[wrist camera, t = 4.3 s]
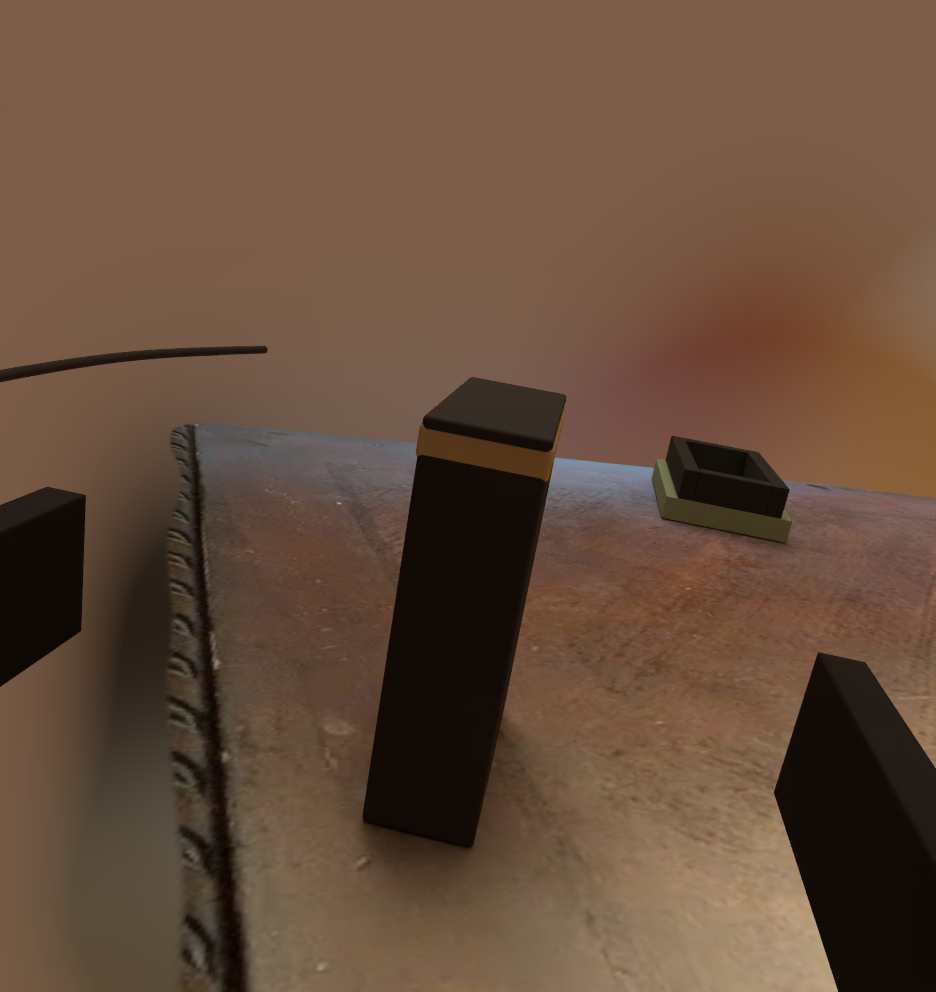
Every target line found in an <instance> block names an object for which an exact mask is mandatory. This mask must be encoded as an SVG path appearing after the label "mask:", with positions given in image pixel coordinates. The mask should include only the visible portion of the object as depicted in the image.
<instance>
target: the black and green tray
mask: <svg viewBox="0 0 936 992" xmlns="http://www.w3.org/2000/svg"><path fill="white" fill-rule="evenodd" d="M652 478H653V483H654V487H655V491H656V496H657V500H658V504H659V509H660V513H661V517H662V518H665V519H670V520H675V521H680V522H685V523H690V524H695V525H700V526H705V527H710V528H714V529H719V530H724V531H729V532H734V533H739V534H744V535H749V536H754V537H759V538H764V539H769V540H774V541H779V542H783V543H786V541H787V537H788V534H789V531H790V527H791V524H792V521H791V519H790V518H789V517H788V515H787V514H786V513H785V511H784V507H785V504H786V500H787V497H788V493H789V488H788V487H787V486H786V485H785V483H784V482H783V481H782V480H781V479H780V477H779V476H778V475H777V474H776V473H775V471H774V470H773V469H772V468H771V467H770V466H769V464H768V463H767V462H766V461H765V460H764V458H763V457H762V456H761V455H760V454H759V453H758V452H754V451H749V450H744V449H738V448H733V447H728V446H723V445H718V444H713V443H707V442H702V441H697V440H692V439H687V438H685V439H684V438H681V437H676V436H672V437H671V440H670V444H669V448H668V453H667V457H666V461H664V460H659V459H656V463H655V467H654V471H653V475H652Z"/></svg>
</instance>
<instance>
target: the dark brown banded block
mask: <svg viewBox="0 0 936 992" xmlns="http://www.w3.org/2000/svg"><path fill="white" fill-rule="evenodd" d="M566 407H567V403H566V396H565V395H564V394H559V393H554V392H548V391H543V390H537V389H532V388H527V387H522V386H517V385H512V384H506V383H501V382H496V381H490V380H485V379H480V378H475V377H472V378H470V379H468V380H467V381H466V382H465V383H464V384H462V385H461V386H460V387H459V388H458V389H456V390H455V391H454V392H453V393H452V394H450V395H449V396H448V397H447V398H446V399H444V400H443V401H442V402H441V403H440V404H439V405H438V406H436V407H435V408H434V409H433V410H431V411H430V412H429V413H428V414H426V415H425V416H424V418H423V423H422V424H421V425H420V429H419V435H418V441H417V448H416V455H417V463H416V469H415V476H414V482H413V489H412V495H411V502H410V508H409V515H408V522H407V528H406V535H405V541H404V548H403V554H402V561H401V567H400V574H399V580H398V587H397V594H396V600H395V607H394V613H393V620H392V626H391V633H390V639H389V646H388V653H387V659H386V666H385V672H384V679H383V685H382V692H381V698H380V705H379V712H378V718H377V725H376V731H375V738H374V744H373V751H372V757H371V764H370V771H369V777H368V784H367V790H366V797H365V803H364V810H363V820H364V821H367V822H371V823H375V824H379V825H383V826H387V827H391V828H395V829H399V830H403V831H407V832H411V833H415V834H419V835H423V836H427V837H431V838H435V839H439V840H443V841H447V842H451V843H455V844H459V845H463V846H467V847H471V846H472V845H473V844H474V839H475V835H476V830H477V826H478V822H479V817H480V813H481V808H482V804H483V799H484V795H485V790H486V786H487V782H488V777H489V773H490V768H491V764H492V759H493V755H494V751H495V746H496V742H497V737H498V733H499V728H500V724H501V719H502V715H503V710H504V706H505V701H506V696H507V691H508V686H509V681H510V676H511V671H512V666H513V661H514V656H515V651H516V646H517V641H518V636H519V631H520V626H521V621H522V616H523V611H524V606H525V601H526V596H527V592H528V587H529V582H530V577H531V572H532V567H533V562H534V557H535V552H536V547H537V542H538V537H539V532H540V527H541V522H542V517H543V512H544V507H545V502H546V497H547V492H548V487H549V482H550V477H551V473H552V468H553V463H554V458H555V453H556V449H557V445H558V441H559V438H560V434H561V430H562V426H563V421H564V416H565V412H566Z"/></svg>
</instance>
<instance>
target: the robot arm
mask: <svg viewBox="0 0 936 992" xmlns="http://www.w3.org/2000/svg"><path fill="white" fill-rule="evenodd" d="M267 351H268V349H267V347H266V346H234V347H201V348H177V349H158V350H144V351H132V352H122V353H111V354H103V355H94V356H87V357H79V358H72V359H65V360H58V361H52V362H46V363H40V364H33V365H28V366H21V367H15V368H9V369H3V370H0V382H4V381H9V380H14V379H18V378H24V377H30V376H35V375H41V374H47V373H52V372H57V371H63V370H69V369H76V368H82V367H89V366H95V365H102V364H109V363H117V362H125V361H135V360H146V359H157V358H171V357H189V356H211V355H236V354H264V353H267ZM85 503H86V495H83V494H78V493H74V492H69V491H64V490H60V489H55V488H51V487H45V488H43V489H40V490H38V491H35V492H33V493H30V494H28V495H25V496H22V497H20V498H17V499H15V500H12V501H10V502H7V503H5V504H2V505H0V687H1V686H2V685H4V684H5V683H7V682H8V681H9V680H11V679H12V678H13V677H15V676H17V675H18V674H19V673H21V672H22V671H24V670H25V669H27V668H28V667H29V666H31V665H33V664H34V663H35V662H37V661H38V660H40V659H41V658H42V657H44V656H46V655H47V654H48V653H50V652H51V651H53V650H54V649H56V648H57V647H59V646H60V645H61V644H63V643H64V642H66V641H67V640H69V639H70V638H72V637H73V636H74V635H76V634H77V633H78V632H80V631H81V620H82V590H83V561H84V559H83V558H84V533H85ZM774 794H775V798H776V801H777V804H778V807H779V810H780V813H781V816H782V819H783V822H784V825H785V828H786V832H787V835H788V838H789V841H790V844H791V847H792V850H793V853H794V856H795V859H796V862H797V866H798V869H799V872H800V875H801V878H802V881H803V884H804V887H805V890H806V893H807V896H808V900H809V903H810V906H811V909H812V912H813V915H814V918H815V921H816V924H817V927H818V930H819V934H820V937H821V940H822V943H823V946H824V949H825V952H826V955H827V958H828V961H829V964H830V968H831V971H832V974H833V977H834V980H835V983H836V986H837V989H838V992H936V768H935V767H934V765H933V764H932V762H931V761H930V759H929V758H928V756H927V755H926V753H925V752H924V750H923V749H922V747H921V746H920V744H919V743H918V741H917V740H916V738H915V737H914V735H913V734H912V732H911V731H910V729H909V728H908V726H907V724H906V723H905V721H904V720H903V718H902V717H901V715H900V714H899V712H898V711H897V709H896V708H895V706H894V705H893V703H892V702H891V700H890V699H889V697H888V696H887V694H886V693H885V691H884V690H883V688H882V687H881V685H880V684H879V682H878V681H877V679H876V678H875V676H874V675H873V673H872V672H871V670H870V669H869V667H868V666H867V664H866V663H865V662H861V661H857V660H852V659H847V658H843V657H838V656H833V655H829V654H824V653H819V652H818V654H817V657H816V660H815V664H814V667H813V670H812V673H811V676H810V679H809V683H808V686H807V689H806V692H805V695H804V698H803V702H802V705H801V708H800V711H799V714H798V717H797V721H796V724H795V727H794V730H793V733H792V737H791V740H790V743H789V746H788V749H787V752H786V756H785V759H784V762H783V765H782V768H781V771H780V775H779V778H778V781H777V784H776V787H775V790H774Z"/></svg>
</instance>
